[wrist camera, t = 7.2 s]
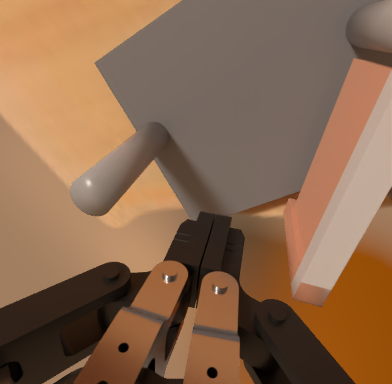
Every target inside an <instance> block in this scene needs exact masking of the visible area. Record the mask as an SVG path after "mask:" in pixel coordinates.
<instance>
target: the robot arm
mask: <svg viewBox="0 0 392 384" xmlns="http://www.w3.org/2000/svg"><path fill="white" fill-rule="evenodd" d="M215 217H216V218H215ZM231 219H232V217H228V216H224V215H219V214H217V215H216V214H213V213H208V212H203V211H200V213H199V216H198V218H197V221H194V220H189V219H187V220H186V221H185V222H183V223H182V224H181V225H180V227H179V229H178V231H177V234H176V235H175V237H174V240H173V241H172V244H171V246H170V248H169V250H168V252H167V255H166V257H165V259H164V261H163V262H161V263H159V264H157V265H156V266H155V267H154V268H153V270H152V271H149V272H139V273H130V270H129V268H128V267H127V266H126V265H125V264H123V263H120V262H109V263H105V264H103V265H100V266H98V267H96V268H93V269H91V270H89V271H86V272H84V273H82V274H79V275H77V276H75V277H73V278H70V279H68V280H65V281H63V282H61V283H58V284H56V285H54V286H51V287H49V288H47V289H45V290H42V291H40V292H37V293H35V294H33V295H30V296H28V297H26V298H23V299H21V300H19V301H16V302H14V303H12V304H9V305H7V306H5V307H3V308H0V384H42V383H44V382H46V381H47V380H49V379H51V378H52V377H54V376H56V375H57V374H59V373H61V372H62V371H64V370H66V369H67V368H69V367H70V366H72V365H74V364H76V363H77V362H79V361H81V360H82V359H84V358H86V357H87V356H89V355H91V356H90V357H89V359H88V361H87V362H86V364H85V365H84V367H82V368H79V369H77V370H75V371H73V372H71V373H69V374H68V375H66V376H64V377H63V378H61V379H60V380H58V381H57V382H55V383H54V384H239V358H241V359H243V361H244V365H245V368H246V370H247V371H248V373H249V375H250V377H251V378H252V380H253V382H254V383H255V384H355V383H354V382H353V380H352V379H351V378H350V377H349V376H348V374H347V373H346V372H345V371H344V370H343V369H342V367H341V366H340V365H339V364H338V363H337V361H336V360H335V359H334V358H333V357H332V356H331V354H330V353H329V352H328V351H327V350H326V349H325V347H324V346H323V345H322V344H321V342H320V341H319V340H318V339H317V338H316V337H315V335H314V334H313V333H312V332H311V331H310V329H309V328H308V327H307V326H306V325H305V324H304V322H303V321H302V320H301V319H300V318H299V316H297V314H296V313H295V312H294V311H293V310H292V308H291V307H290V306H288V305H287V304H285V303H284V302H282V301H279V300H275V299H267V300H264V301H262V302H259V301H257V300H255V299H253V298H251V297H250V296H249V295H247V294H246V293H245V292H244V291H243V289H242V288H241V286H240V283H239V276H240V268H241V262H242V254H243V247H244V239H245V238H244V235H243V233H242V231H241V230H239V229H234V228H230V225H231ZM196 300H197V303H196ZM195 303H196V308H197V312H196V317H195V323H194V327H193V331H192V336H191V342H190V347H189V353H188V359H187V365H186V370H185V376H184V379H166V378H164V374H165V370H166V367H167V364H168V362H169V359H170V356H171V354H172V351H173V349H174V346H175V344H176V341H177V339H178V336H179V334H180V331H181V329H182V326H183V323H184V318H185V315H186V313H187V309H188V307H192V308H194V307H195Z"/></svg>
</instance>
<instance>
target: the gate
mask: <svg viewBox="0 0 392 384" xmlns="http://www.w3.org/2000/svg"><path fill="white" fill-rule="evenodd" d="M391 187H392V67H389V66H385V65H382V64H378V63H375V62H371V61H367V60H362V59H357V58H354V59H353V61H352V64H351V66H350V69H349V71H348V74H347V76H346V79H345V81H344V84H343V86H342V89H341V91H340V94H339V96H338V99H337V101H336V104H335V106H334V109H333V111H332V114H331V116H330V119H329V121H328V124H327V126H326V129H325V131H324V134H323V136H322V139H321V141H320V144H319V146H318V149H317V151H316V154H315V156H314V159H313V161H312V164H311V166H310V169H309V171H308V174H307V176H306V179H305V181H304V184H303V186H302V189H301V191H300V194H299V196H298V199H297V200H296V199H292V198H289V199H288V202H287V204H286V207H285V209H284V220H285V230H286V240H287V250H288V260H289V270H290V280H291V289H292V299H294V300H298V301H301V302H305V303H309V304H312V305H316V306H319V307H322V305H323V304H324V302H325V300H326V298H327V297H328V295H329V293H330V292H331V290H332V288H333V286H334V285H335V283H336V281H337V280H338V278H339V276H340V274H341V273H342V271H343V269H344V267H345V266H346V264H347V262H348V261H349V258H350V257H351V255H352V253H353V252H354V250H355V248H356V247H357V245H358V243H359V241H360V239H361V238H362V237H363V235H364V233H365V231H366V230H367V228H368V226H369V225H370V223H371V221H372V219H373V218H374V216H375V214H376V212H377V211H378V209H379V207H380V206H381V204H382V202H383V200H384V199H385V197H386V195H387V194H388V192H389V190H390V188H391Z"/></svg>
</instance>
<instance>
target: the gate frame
mask: <svg viewBox="0 0 392 384" xmlns="http://www.w3.org/2000/svg"><path fill="white" fill-rule="evenodd" d="M354 58H357V59H362V60H367V61H371V62H375V63H378V64H382V65H385V66H389V67H392V0H182V1H181V2H179V3H178V4H176V5H175V6H174V7H172V8H171V9H169V10H168V11H167V12H165V13H164V14H162V15H161V16H160V17H158V18H157V19H155V20H154V21H153V22H151V23H150V24H148V25H147V26H145V27H144V28H143V29H141V30H140V31H138V32H137V33H136V34H134V35H133V36H131V37H130V38H129V39H127V40H126V41H124V42H123V43H122V44H120V45H119V46H117V47H116V48H115V49H113V50H112V51H110V52H109V53H108V54H106V55H105V56H103V57H102V58H101V59H99V60H98V61H96V62H95V65H96V66H97V68H98V69H99V71H100V73H101V74H102V76H103V78H104V79H105V81H106V82H107V84H108V86H109V87H110V89H111V91H112V92H113V94H114V95H115V97H116V99H117V100H118V102H119V103H120V105H121V107H122V108H123V110H124V112H125V113H126V115H127V116H128V118H129V120H130V121H131V123H132V125H133V126H134V128H135V129H136V131H137V132H136V133H135V134H133V135H132V136H131V137H130V138H128V139H127V140H126V141H125V142H123V143H122V144H121V145H119V146H118V147H117V148H116V149H114V150H113V151H112V152H111V153H109V154H108V155H107V156H105V157H104V158H103V159H102V160H100V161H99V162H98V163H97V164H95V165H94V166H93V167H91V168H90V169H89V170H88V171H86V172H85V173H84V174H83V175H81V176H80V177H79V178H77V179H76V180H75V181H74V182H73V183H72V185H71V188H70V194H71V198H72V200H73V202H74V204H75V205H76V206H77V207H78V208H79V209H80V210H81V211H83V212H84V213H86V214H89V215H91V216H102V215H105V214H106V213H108V212H109V210H110V209H111V208H112V207H113V206H114V205H115V203H116V202H117V201H118V200H119V199H120V198H121V197H122V195H123V194H124V193H125V192H126V191H127V190H128V189H129V187H130V186H131V185H132V184H133V183H134V182H135V180H136V179H137V178H138V177H139V176H140V175H141V174H142V172H143V171H144V170H145V169H146V168H147V167H148V165H149V164H150V163H151V162H152V161H153V160H155V162H156V164H157V165H158V167H159V168H160V170H161V172H162V173H163V175H164V177H165V178H166V180H167V181H168V183H169V185H170V186H171V188H172V189H173V191H174V193H175V194H176V196H177V198H178V199H179V201H180V202H181V204H182V206H183V207H184V209H185V211H186V212H187V213H188V215H189V217H190V219H191V220H194V221H197V218H198V216H199V213H200V211H203V212H208V213H213V214H216V215H217V214H219V215H224V216H229V215H232V214H235V213H238V212H241V211H244V210H247V209H249V208H252V207H255V206H258V205H261V204H264V203H267V202H270V201H273V200H276V199H279V198H282V197H284V196H287V195H290V194H293V193H296V192H299V191H301V189H302V186H303V184H304V181H305V179H306V176H307V174H308V171H309V169H310V166H311V164H312V161H313V159H314V156H315V154H316V151H317V149H318V146H319V144H320V141H321V139H322V136H323V134H324V131H325V129H326V126H327V124H328V121H329V119H330V116H331V114H332V111H333V109H334V106H335V104H336V101H337V99H338V96H339V94H340V91H341V89H342V86H343V84H344V81H345V79H346V76H347V74H348V71H349V69H350V66H351V64H352V61H353V59H354ZM388 195H389V196H390V198H391V199H392V187H391V188H390V190H389V192H388ZM215 218H216V217H215Z"/></svg>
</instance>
